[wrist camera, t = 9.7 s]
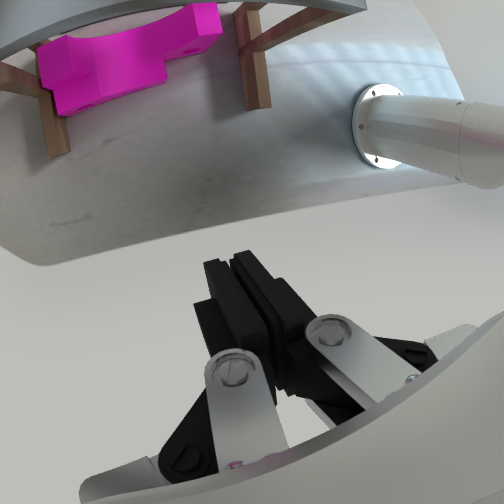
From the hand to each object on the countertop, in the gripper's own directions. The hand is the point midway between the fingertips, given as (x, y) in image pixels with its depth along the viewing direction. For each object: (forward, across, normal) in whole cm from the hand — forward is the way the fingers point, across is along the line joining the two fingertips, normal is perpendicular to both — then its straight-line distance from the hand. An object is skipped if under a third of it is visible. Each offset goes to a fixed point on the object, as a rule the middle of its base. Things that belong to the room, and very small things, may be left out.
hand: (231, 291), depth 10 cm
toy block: (+22, +2, -13) cm, 26 cm away
